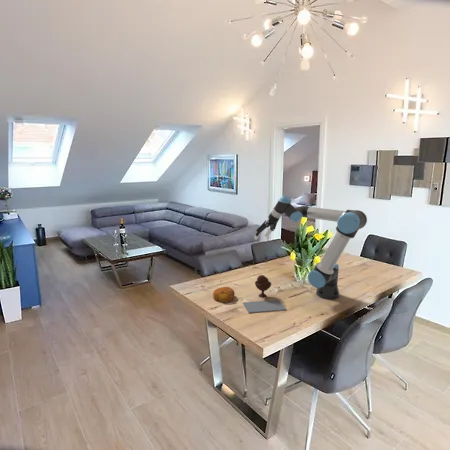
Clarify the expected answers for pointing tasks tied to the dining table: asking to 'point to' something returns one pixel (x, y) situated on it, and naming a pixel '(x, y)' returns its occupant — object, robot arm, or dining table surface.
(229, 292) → the orange-brown rounded lump
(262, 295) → the ice cream bowl
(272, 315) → the dining table surface
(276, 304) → the placemat
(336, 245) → the robot arm
